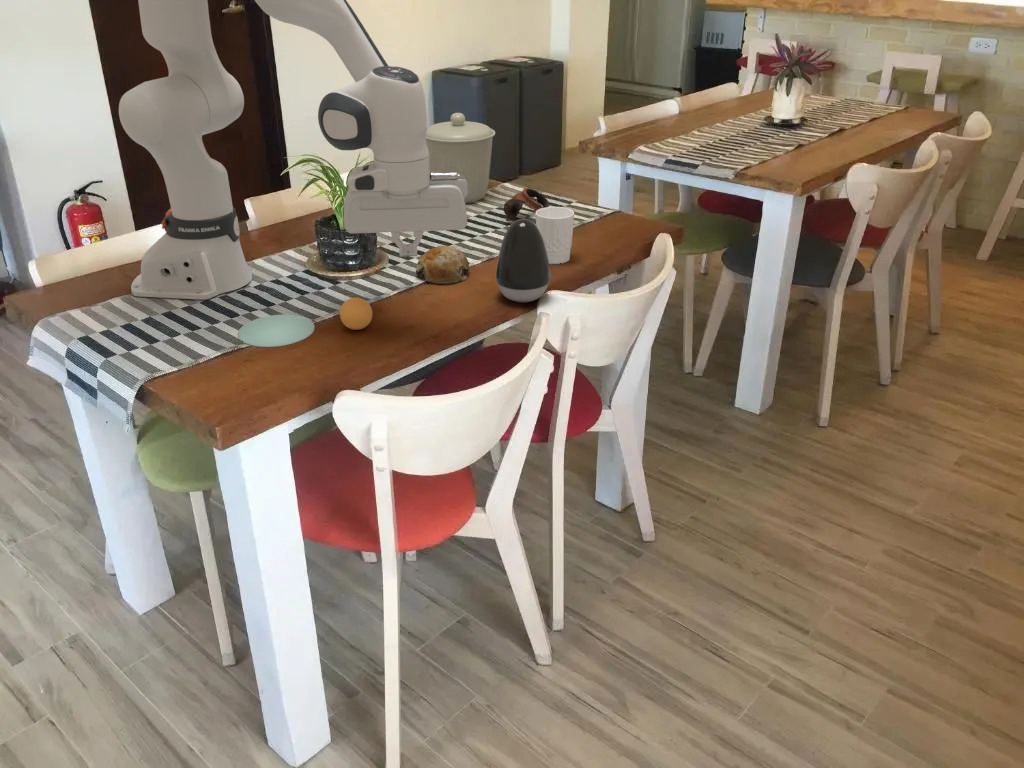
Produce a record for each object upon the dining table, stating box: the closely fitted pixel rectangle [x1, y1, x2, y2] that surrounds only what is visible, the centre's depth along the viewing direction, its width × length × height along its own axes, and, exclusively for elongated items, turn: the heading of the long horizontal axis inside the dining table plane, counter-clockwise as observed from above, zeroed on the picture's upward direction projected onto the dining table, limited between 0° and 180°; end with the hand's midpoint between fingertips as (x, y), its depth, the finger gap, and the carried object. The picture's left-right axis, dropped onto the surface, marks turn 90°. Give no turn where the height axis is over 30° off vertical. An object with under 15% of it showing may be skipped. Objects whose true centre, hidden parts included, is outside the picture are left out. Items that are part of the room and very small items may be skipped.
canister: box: [426, 112, 496, 204], centre depth 217 cm, size 18×18×21 cm
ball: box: [339, 297, 373, 331], centre depth 153 cm, size 6×6×6 cm
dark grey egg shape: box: [495, 214, 551, 303], centre depth 162 cm, size 10×10×15 cm
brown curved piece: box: [502, 187, 550, 222], centre depth 205 cm, size 12×10×8 cm
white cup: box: [535, 206, 575, 265], centre depth 182 cm, size 8×8×10 cm
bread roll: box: [415, 245, 470, 285], centre depth 175 cm, size 10×10×8 cm
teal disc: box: [237, 314, 315, 348], centre depth 153 cm, size 13×13×1 cm
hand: (408, 255), depth 148 cm, fingers closed
